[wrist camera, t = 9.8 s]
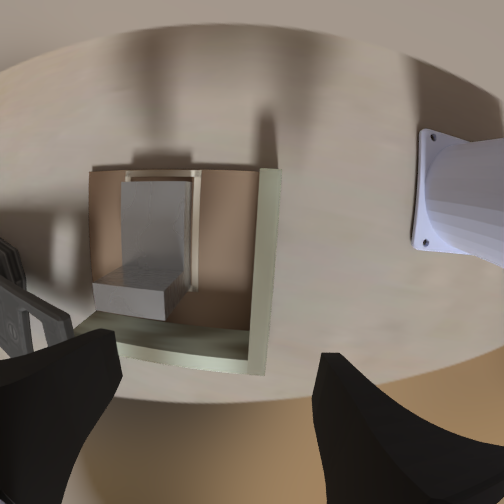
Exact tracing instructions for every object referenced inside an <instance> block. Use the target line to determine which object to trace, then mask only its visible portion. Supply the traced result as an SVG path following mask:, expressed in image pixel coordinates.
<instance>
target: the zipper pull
mask: <svg viewBox="0 0 504 504" xmlns="http://www.w3.org/2000/svg"><path fill="white" fill-rule="evenodd" d="M29 313H31V314H32V315H33V316H35V317H36V318H37V319H39V320H40V321H41V322H42V324H43V329H44V333H45V337H46V341H47V344H48V347H50V346H53V345H55V344H58V343H61V342H63V341H66V340H68V339H71V338H73V337H75V335H74V331H73V327H72V322H71V318H70V315H69V314H68V313H66V312H64V311H62V310H60V309H58V308H57V307H55V306H53V305H51V304H49V303H47V302H46V301H44V300H42V299H40V298H39V297H37V296H35V295H33V294H32V293H30V292H28V291H26V277H25V274H24V271H23V267H22V264H21V261H20V257H19V254H18V251H17V249H16V248H14V247H13V246H11V245H10V244H9V243H7V242H6V241H4V240H3V239H1V238H0V347H1V348H2V349H3V350H4V351H5V352H6V353H7V354H8V355H9V356H10V357H11V358H14V357H18V356H22V355H26V354H29V353H32V352H34V350H33V344H32V337H31V329H30V319H29Z"/></svg>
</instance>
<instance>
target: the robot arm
mask: <svg viewBox="0 0 504 504" xmlns="http://www.w3.org/2000/svg"><path fill="white" fill-rule="evenodd" d="M431 135H433V137H434V141H432V139H431ZM425 239H426V244H425V245H424V246H423V241H424V240H425ZM411 242H412V246H413V247H414V248H415V249H417V250H425V251H436V252H447V253H457V254H467V255H474V256H477V257H479V258H481V259H484V260H486V261H488V262H491V263H493V264H495V265H497V266H500V267H502V268H504V138H499V139H491V140H484V141H477V142H468V141H466V140H463V139H460V138H457V137H454V136H450V135H447V134H444V133H441V132H437V131H434V130H431V129H422V130H421V131H420V132H419V164H418V183H417V196H416V207H415V217H414V226H413V233H412V241H411ZM122 377H123V375H122V370H121V365H120V360H119V354H118V349H117V343H116V337H115V331H113V330H108V329H103V328H99V329H95V330H92V331H89V332H86V333H84V334H81V335H78V336H76V337H73V338H71V339H68V340H66V341H63V342H61V343H58V344H55V345H53V346H50V347H47V348H44V349H41V350H38V351H35V352H32V353H29V354H26V355H22V356H18V357H14V358H9V359H5V360H0V504H61V503H62V499H63V495H64V492H65V489H66V486H67V482H68V480H69V477H70V474H71V472H72V469H73V466H74V464H75V461H76V459H77V457H78V455H79V452H80V450H81V448H82V446H83V444H84V442H85V440H86V438H87V437H88V435H89V434H90V432H91V431H92V429H93V428H94V426H95V425H96V423H97V421H98V420H99V418H100V417H101V415H102V414H103V412H104V411H105V409H106V407H107V406H108V404H109V403H110V401H111V400H112V398H113V397H114V394H115V392H116V390H117V388H118V386H119V384H120V381H121V379H122ZM312 410H313V423H314V428H315V432H316V437H317V442H318V446H319V451H320V456H321V460H322V465H323V470H324V476H325V482H326V495H327V504H497V503H498V502H499V501H500V500H501V499H502V498H503V497H504V446H499V445H493V444H488V443H483V442H479V441H475V440H472V439H469V438H466V437H463V436H460V435H457V434H455V433H452V432H449V431H447V430H444V429H443V428H440V427H438V426H436V425H434V424H432V423H430V422H428V421H426V420H424V419H422V418H420V417H419V416H417V415H415V414H414V413H412V412H410V411H409V410H407V409H406V408H404V407H403V406H401V405H400V404H398V403H397V402H396V401H394V400H393V399H392V398H390V397H389V396H388V395H386V394H385V393H384V392H382V391H381V390H380V389H379V388H378V387H376V386H375V385H374V384H373V383H372V382H371V381H369V380H368V379H367V378H366V377H365V376H364V375H363V374H362V373H361V372H360V371H359V370H357V369H356V368H355V367H354V366H353V365H352V364H351V363H350V362H349V361H348V360H347V359H346V358H345V357H344V356H342V355H341V354H340V353H321V358H320V363H319V368H318V372H317V377H316V382H315V386H314V390H313V395H312Z"/></svg>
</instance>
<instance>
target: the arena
mask: <svg viewBox="0 0 504 504" xmlns="http://www.w3.org/2000/svg"><path fill="white" fill-rule="evenodd" d="M281 176H282V169H268V168H260V172H256V171H236V170H205V169H143V170H114V171H95V172H89V238H90V255H91V268H92V279H93V282H95V281H96V280H98V279H100V278H101V277H103V276H105V275H107V274H108V273H110V272H112V271H114V270H115V269H117V268H119V267H121V266H122V247H121V182H137V181H188V182H192V206H191V287H190V289H189V290H188V291H187V293H186V294H185V295H184V297H183V298H182V299H181V301H180V302H179V303H178V305H177V306H176V307H175V309H174V310H173V311H172V312H171V314H170V315H169V316H168V318H167V319H166V320H165V321H163V320H155V319H148V318H141V317H134V316H128V315H122V314H115V313H109V312H104V311H98V310H96V312H94V313H93V314H92V315H91V316H89V317H88V318H87V319H86V320H84V321H83V322H82V323H81V324H79V325H78V326H77V327H76V328H75V329H73V331H74V335H75V337H76V336H78V335H81V334H84V333H86V332H89V331H92V330H95V329H99V328H103V329H108V330H113V331H115V337H116V343H117V349H118V354H119V356H124V357H128V358H133V359H138V360H143V361H148V362H154V363H159V364H165V365H171V366H178V367H184V368H191V369H199V370H206V371H215V372H224V373H234V374H246V375H259V376H265V369H266V359H267V349H268V339H269V328H270V318H271V307H272V296H273V284H274V272H275V260H276V247H277V234H278V221H279V206H280V192H281Z"/></svg>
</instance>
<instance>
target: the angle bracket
mask: <svg viewBox="0 0 504 504" xmlns="http://www.w3.org/2000/svg"><path fill="white" fill-rule="evenodd" d="M191 206H192V182H188V181H137V182H121V247H122V266H121V267H119V268H117V269H115V270H114V271H112V272H110V273H108V274H107V275H105V276H103V277H101V278H100V279H98V280H96V281H95V282H93V283H92V284H93V293H94V301H95V308H96V310H98V311H104V312H109V313H115V314H122V315H128V316H134V317H141V318H148V319H155V320H163V321H165V320H166V319H167V318H168V316H169V315H170V314H171V312H172V311H173V310H174V309H175V307H176V306H177V305H178V303H179V302H180V301H181V299H182V298H183V297H184V295H185V294H186V293H187V291H188V290H189V289H190V287H191Z"/></svg>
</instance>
